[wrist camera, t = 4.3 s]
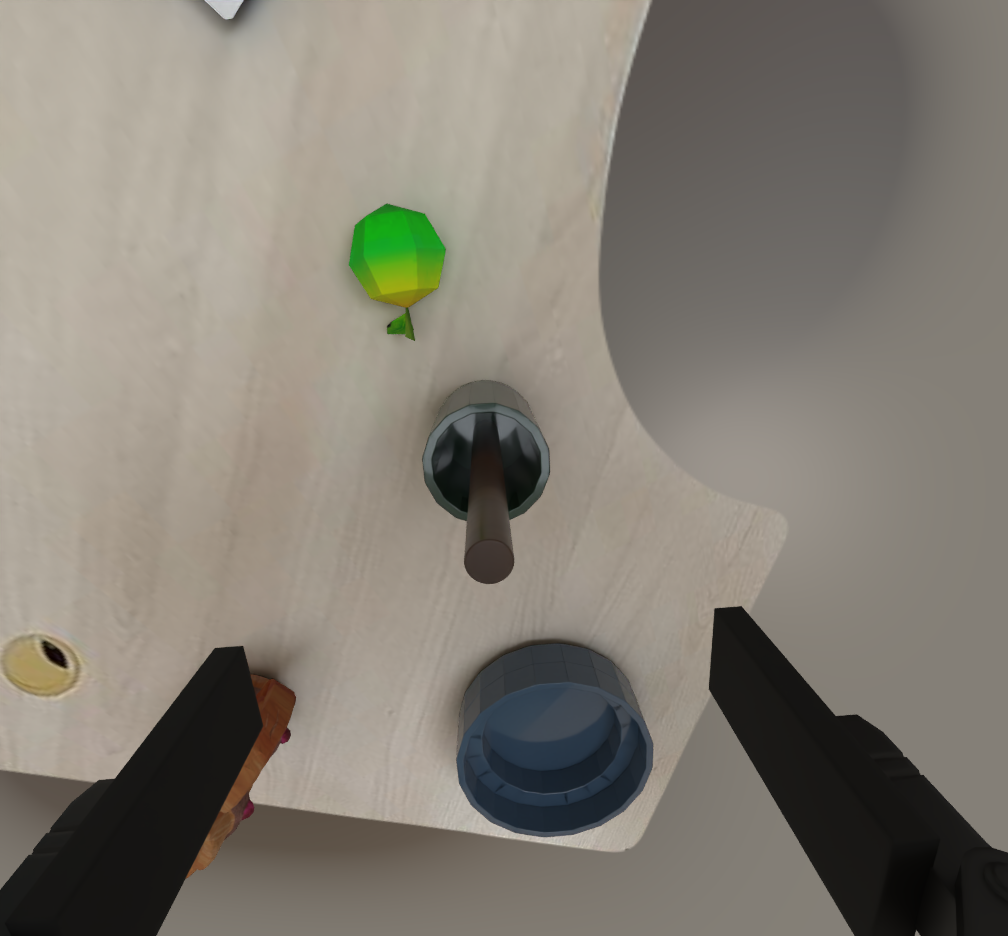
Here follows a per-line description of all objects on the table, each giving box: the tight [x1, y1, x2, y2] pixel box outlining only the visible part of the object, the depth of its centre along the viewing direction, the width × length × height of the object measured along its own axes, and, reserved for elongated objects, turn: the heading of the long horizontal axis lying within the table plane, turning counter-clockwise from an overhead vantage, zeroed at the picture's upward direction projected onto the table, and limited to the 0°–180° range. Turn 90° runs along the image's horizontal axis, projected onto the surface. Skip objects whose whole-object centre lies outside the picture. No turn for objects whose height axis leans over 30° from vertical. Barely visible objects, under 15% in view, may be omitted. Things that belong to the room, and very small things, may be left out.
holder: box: [422, 380, 550, 521], centre depth 38 cm, size 8×8×10 cm
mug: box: [186, 674, 296, 878], centre depth 42 cm, size 15×8×15 cm, turn 136°
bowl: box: [456, 643, 653, 837], centre depth 48 cm, size 17×17×6 cm
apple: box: [349, 204, 446, 341], centre depth 36 cm, size 7×6×9 cm
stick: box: [464, 420, 514, 584], centre depth 31 cm, size 2×2×22 cm
